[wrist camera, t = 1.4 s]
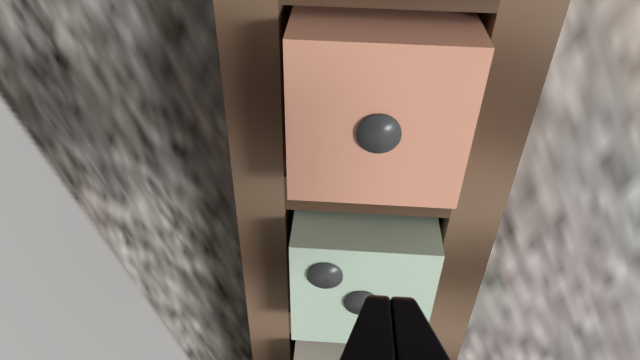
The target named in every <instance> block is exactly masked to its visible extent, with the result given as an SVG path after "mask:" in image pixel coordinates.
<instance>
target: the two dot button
mask: <svg viewBox="0 0 640 360" xmlns="http://www.w3.org/2000/svg"><path fill="white" fill-rule="evenodd" d="M345 346H346V343H332V342H317V341H301V340H296V342H295V351H294V359H293V360H340V357H341V355H342V353H343V350H344V348H345Z"/></svg>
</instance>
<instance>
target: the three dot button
mask: <svg viewBox="0 0 640 360" xmlns="http://www.w3.org/2000/svg"><path fill="white" fill-rule="evenodd" d="M444 258H445V254H444V248H443V242H442V237H441V231H440V226H439V220H438V218H435V217H417V216H399V215H381V214H362V213H344V212H326V211H308V210H295V211H294V217H293V224H292V230H291V236H290V243H289V272H290V306H291V340H301V341H317V342H332V343H347V341H348V338H349V336H350V334H351V331H352V329H353V327H354V324H355V322H356V320H357V317H358V315H359V312H360V310H361V308H362V305H363V303H364V301H365V298H366V297H367V296H368V295H383V296H388V297H389V298H390V299H391V298H392V297H394V296H399V297H411V298H414V299H415V300H416V302H417V303H418V305H419V307H420V308H421V310H422V312H423V313H424V315H425V317H426V318H427V320H428V322H429V321H430V317H431V313H432V308H433V304H434V300H435V296H436V292H437V288H438V283H439V279H440V275H441V271H442V267H443V262H444Z"/></svg>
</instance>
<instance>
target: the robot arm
mask: <svg viewBox="0 0 640 360" xmlns="http://www.w3.org/2000/svg"><path fill="white" fill-rule="evenodd" d="M340 360H451V359H450V358H449V356H448V354H447V353H446V351H445V349H444V348H443V346H442V344H441V342H440V341H439V339H438V337H437V336H436V334H435V332H434V330H433V329H432V327H431V325H430V324H429V322H428V320H427V318H426V317H425V315H424V313H423V312H422V310H421V308H420V307H419V305H418V303H417V302H416V300H415V299H414V298H411V297H399V296H394V297H392V298H391V299H390V298H389V297H388V296H383V295H368V296H367V297H366V298H365V301H364V303H363V305H362V308H361V310H360V312H359V315H358V317H357V320H356V322H355V324H354V327H353V329H352V331H351V334H350V336H349V338H348V341H347V343H346V346H345V348H344V350H343V353H342V355H341V357H340Z"/></svg>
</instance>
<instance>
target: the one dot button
mask: <svg viewBox="0 0 640 360" xmlns="http://www.w3.org/2000/svg"><path fill="white" fill-rule="evenodd" d="M494 50H495V47H494V45H493V43H492V41H491V39H490V37H489V36H488V34H487V32H486V30H485V28H484V26H483V24H482V22H481V20H480V18H479V16H478V14H477V12H452V11H426V10H400V9H375V8H349V7H324V6H298V5H293V8H292V11H291V14H290V17H289V21H288V24H287V27H286V30H285V33H284V37H283V66H284V100H285V134H286V169H287V200H300V201H319V202H337V203H356V204H374V205H392V206H411V207H429V208H447V209H456V208H457V204H458V200H459V196H460V191H461V187H462V183H463V179H464V175H465V171H466V166H467V162H468V158H469V154H470V150H471V146H472V141H473V137H474V133H475V129H476V125H477V121H478V116H479V112H480V108H481V104H482V100H483V95H484V91H485V87H486V83H487V79H488V75H489V70H490V66H491V62H492V58H493V54H494Z"/></svg>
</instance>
